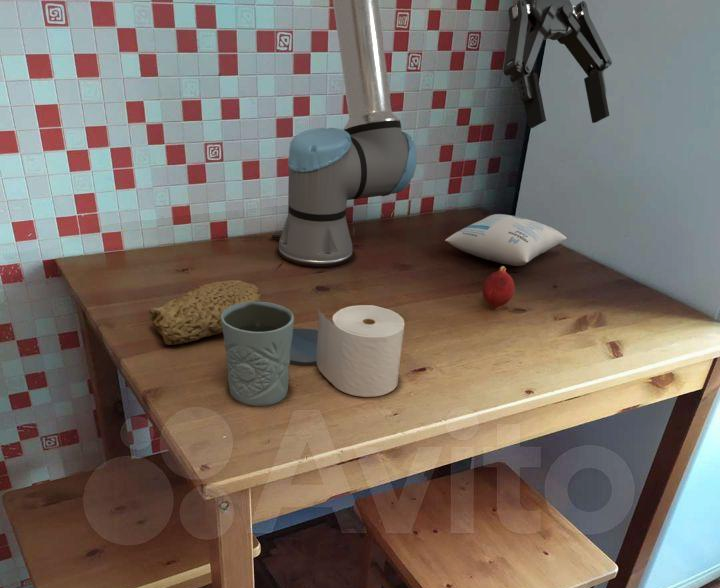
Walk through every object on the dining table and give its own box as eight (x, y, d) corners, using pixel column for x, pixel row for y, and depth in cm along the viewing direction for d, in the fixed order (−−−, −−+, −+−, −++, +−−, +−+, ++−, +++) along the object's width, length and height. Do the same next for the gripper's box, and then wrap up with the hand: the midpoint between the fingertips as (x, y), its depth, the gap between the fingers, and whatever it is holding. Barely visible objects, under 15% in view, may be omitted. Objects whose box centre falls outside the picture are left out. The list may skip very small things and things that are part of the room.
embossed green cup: (237, 414, 107) (235, 336, 99) (214, 380, 114) (210, 305, 106) (303, 400, 111) (306, 325, 103) (277, 368, 118) (277, 296, 110)
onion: (509, 316, 139) (518, 275, 134) (478, 312, 140) (486, 270, 135) (510, 304, 144) (519, 263, 139) (480, 299, 145) (488, 259, 140)
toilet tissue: (405, 396, 114) (413, 335, 108) (327, 400, 111) (330, 338, 105) (388, 361, 122) (394, 303, 116) (315, 364, 120) (317, 305, 114)
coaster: (255, 353, 121) (255, 350, 121) (288, 325, 130) (288, 322, 129) (321, 371, 118) (321, 368, 118) (350, 342, 127) (350, 338, 126)
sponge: (176, 363, 119) (286, 316, 126) (158, 317, 115) (273, 271, 121) (151, 341, 129) (254, 299, 136) (134, 298, 125) (241, 257, 131)
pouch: (493, 199, 170) (448, 216, 156) (571, 224, 162) (532, 244, 148) (485, 234, 174) (441, 254, 161) (561, 260, 167) (522, 282, 153)
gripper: (494, -52, 99) (527, 116, 102) (619, -43, 111) (645, 107, 114) (458, -21, 105) (490, 137, 109) (580, -15, 117) (605, 126, 121)
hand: (570, 122), depth 111 cm, fingers open, 13 cm apart
